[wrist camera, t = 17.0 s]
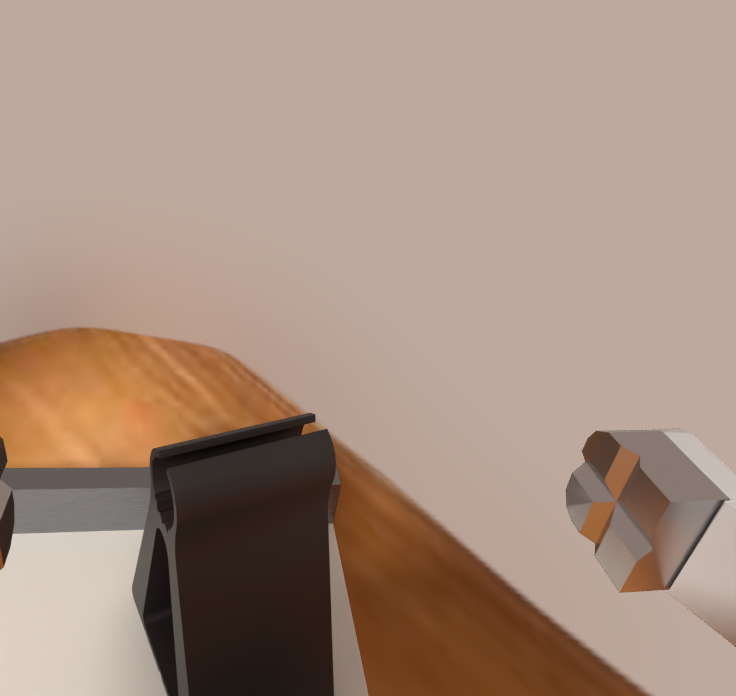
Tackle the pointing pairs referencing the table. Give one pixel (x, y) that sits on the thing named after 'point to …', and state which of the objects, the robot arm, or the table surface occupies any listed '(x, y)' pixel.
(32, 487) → the track rails
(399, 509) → the table surface
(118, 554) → the track base
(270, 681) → the phone stand
